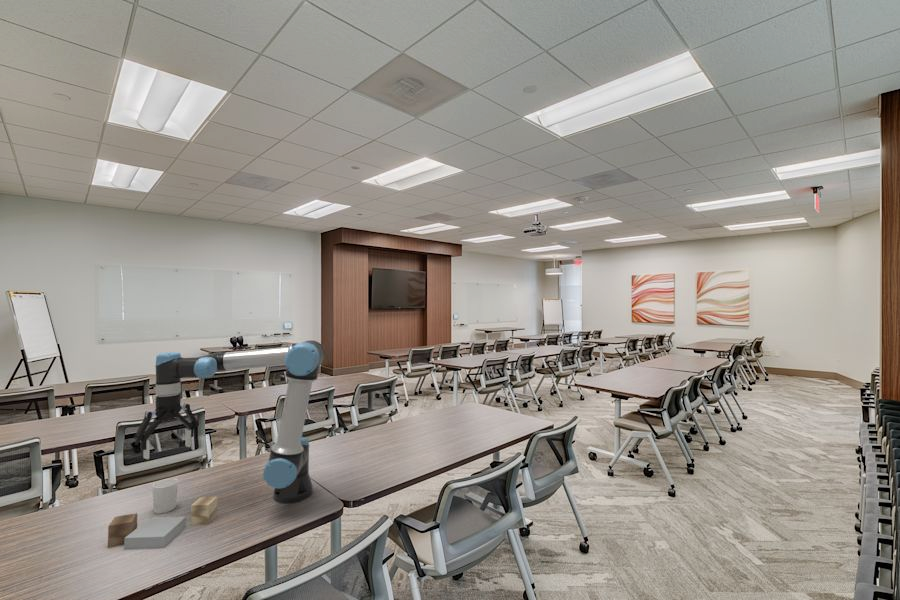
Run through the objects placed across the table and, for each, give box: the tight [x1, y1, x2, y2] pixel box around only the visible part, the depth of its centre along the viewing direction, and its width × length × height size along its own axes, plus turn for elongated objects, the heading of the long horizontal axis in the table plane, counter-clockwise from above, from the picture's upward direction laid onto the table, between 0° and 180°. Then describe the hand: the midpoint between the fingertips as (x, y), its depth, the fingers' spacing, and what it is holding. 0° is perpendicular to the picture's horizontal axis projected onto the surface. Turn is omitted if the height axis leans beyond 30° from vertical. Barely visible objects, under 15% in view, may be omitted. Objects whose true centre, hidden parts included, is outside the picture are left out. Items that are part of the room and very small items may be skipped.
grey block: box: [123, 516, 187, 550], centre depth 131 cm, size 12×12×4 cm
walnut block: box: [107, 512, 138, 548], centre depth 130 cm, size 6×6×7 cm
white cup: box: [152, 478, 179, 514], centre depth 150 cm, size 8×8×10 cm
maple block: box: [190, 496, 218, 526], centre depth 142 cm, size 6×6×7 cm
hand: (168, 452), depth 145 cm, fingers open, 13 cm apart
